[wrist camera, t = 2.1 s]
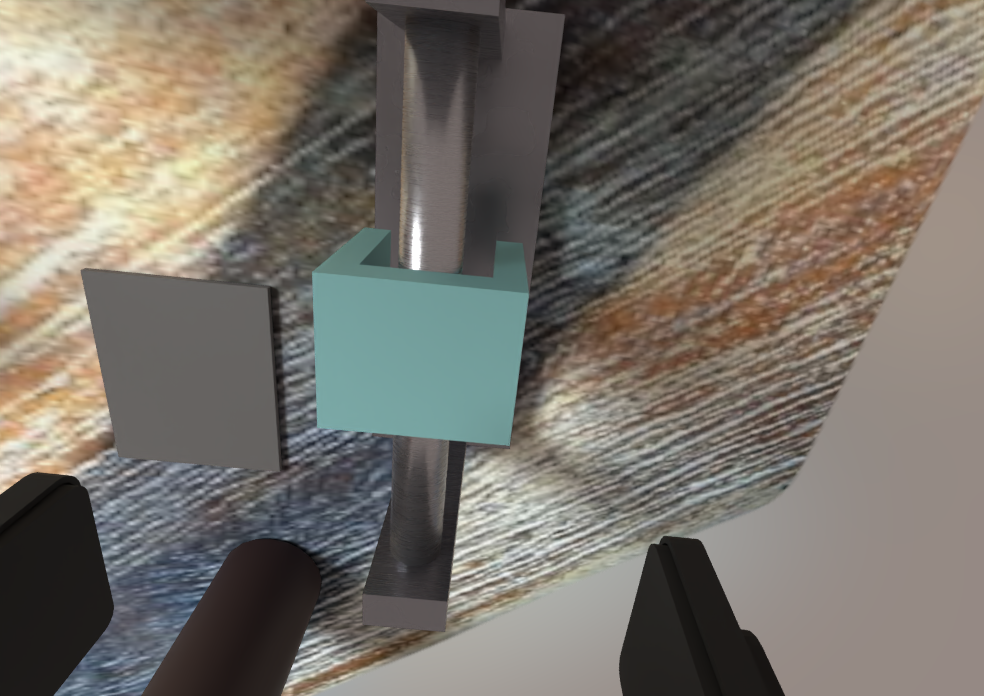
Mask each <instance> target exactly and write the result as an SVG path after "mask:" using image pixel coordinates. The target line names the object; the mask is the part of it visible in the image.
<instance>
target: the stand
mask: <svg viewBox="0 0 984 696" xmlns="http://www.w3.org/2000/svg"><path fill="white" fill-rule="evenodd" d="M365 2H366V3H367V4H369V5H370V6H371V7H373V8H374V9H375V10H377V91H376V175H375V229H384V230H391V255H390V267H391V268H401V269H411V270H421V271H431V272H441V273H451V274H461V275H471V276H481V277H491V278H493V271H494V261H495V251H496V241H504V242H514V243H523V250H524V257H525V265H526V273H527V281H528V289H529V293H530V285H531V277H532V270H533V262H534V254H535V246H536V238H537V231H538V223H539V215H540V207H541V199H542V192H543V184H544V176H545V168H546V160H547V153H548V145H549V137H550V129H551V121H552V114H553V106H554V98H555V90H556V82H557V75H558V67H559V59H560V51H561V43H562V36H563V28H564V20H565V14H556V13H547V12H537V11H528V10H519V9H509V8H506V0H365ZM528 301H529V298H528ZM527 308H528V306H527ZM526 316H527V313H526ZM525 324H526V321H525ZM524 332H525V329H524ZM523 340H524V337H523ZM522 347H523V345H522ZM521 355H522V352H521ZM520 363H521V360H520ZM519 371H520V368H519ZM518 379H519V376H518ZM517 386H518V384H517ZM516 394H517V392H516ZM515 402H516V399H515ZM514 410H515V407H514ZM513 418H514V415H513ZM512 425H513V423H512ZM511 433H512V431H511ZM372 436H378V437H389V438H393V460H392V494H391V500H390V503H389V506H388V510H387V513H386V517H385V520H384V523H383V527H382V530H381V534H380V537H379V540H378V544H377V547H376V551H375V554H374V557H373V561H372V564H371V568H370V571H369V575H368V578H367V581H366V585H365V588H364V592H363V625H373V626H384V627H395V628H407V629H418V630H429V631H441V632H445V627H446V618H447V610H448V601H449V592H450V584H451V575H452V566H453V558H454V549H455V541H456V532H457V523H458V515H459V506H460V497H461V489H462V480H463V472H464V463H465V454H466V446H467V445H474V446H484V447H495V448H506V449H510V446H507V445H496V444H486V443H475V442H464V441H454V440H443V439H432V438H422V437H411V436H400V435H390V434H379V433H372ZM510 441H511V438H510Z"/></svg>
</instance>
